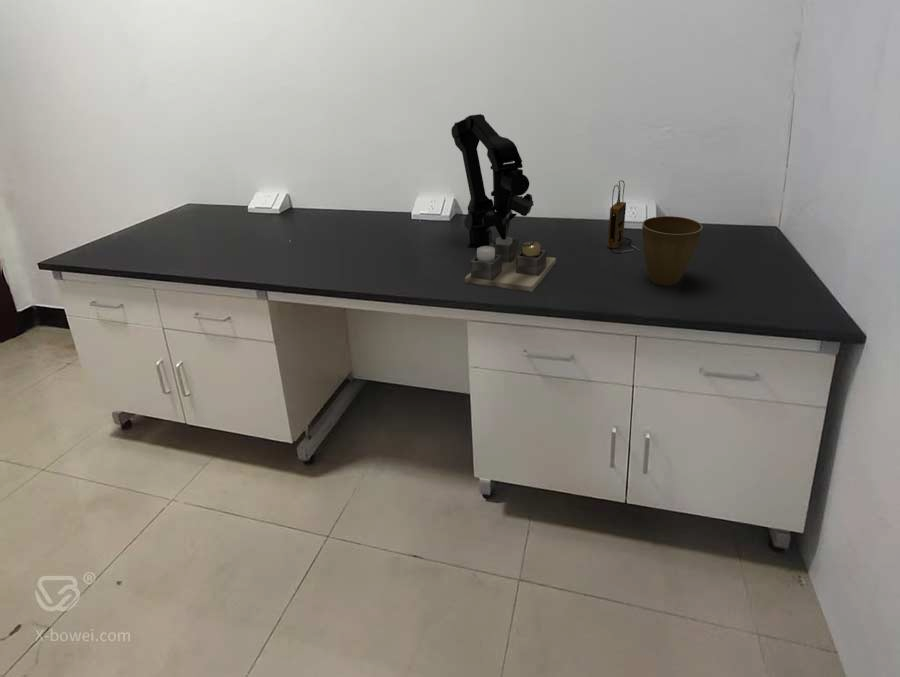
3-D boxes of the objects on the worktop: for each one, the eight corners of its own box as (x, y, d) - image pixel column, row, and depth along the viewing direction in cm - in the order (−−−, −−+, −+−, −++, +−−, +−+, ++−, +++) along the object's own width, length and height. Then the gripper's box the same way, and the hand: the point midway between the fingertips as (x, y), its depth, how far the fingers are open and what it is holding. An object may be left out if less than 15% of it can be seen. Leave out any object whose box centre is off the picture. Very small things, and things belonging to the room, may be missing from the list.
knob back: (493, 256, 180) (493, 241, 178) (499, 251, 184) (499, 235, 182) (509, 258, 178) (508, 242, 176) (514, 252, 182) (514, 237, 180)
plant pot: (662, 296, 155) (669, 237, 147) (625, 276, 167) (630, 221, 159) (706, 284, 160) (715, 226, 152) (667, 266, 172) (674, 212, 164)
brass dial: (520, 263, 169) (519, 245, 167) (525, 257, 173) (525, 239, 171) (536, 265, 167) (537, 247, 165) (542, 259, 171) (542, 241, 169)
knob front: (474, 267, 168) (474, 251, 166) (481, 261, 172) (481, 245, 170) (491, 270, 166) (490, 253, 164) (497, 263, 170) (497, 247, 168)
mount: (465, 282, 170) (464, 261, 167) (494, 255, 187) (493, 235, 184) (531, 291, 162) (532, 269, 159) (555, 262, 179) (556, 242, 176)
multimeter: (635, 256, 180) (641, 191, 170) (603, 252, 185) (607, 188, 175) (649, 241, 190) (655, 178, 181) (618, 237, 195) (623, 175, 186)
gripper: (518, 198, 161) (518, 252, 168) (540, 180, 175) (539, 231, 183) (480, 195, 165) (482, 248, 173) (504, 178, 180) (505, 228, 187)
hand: (504, 239), depth 179 cm, fingers closed, pressing on knob back
